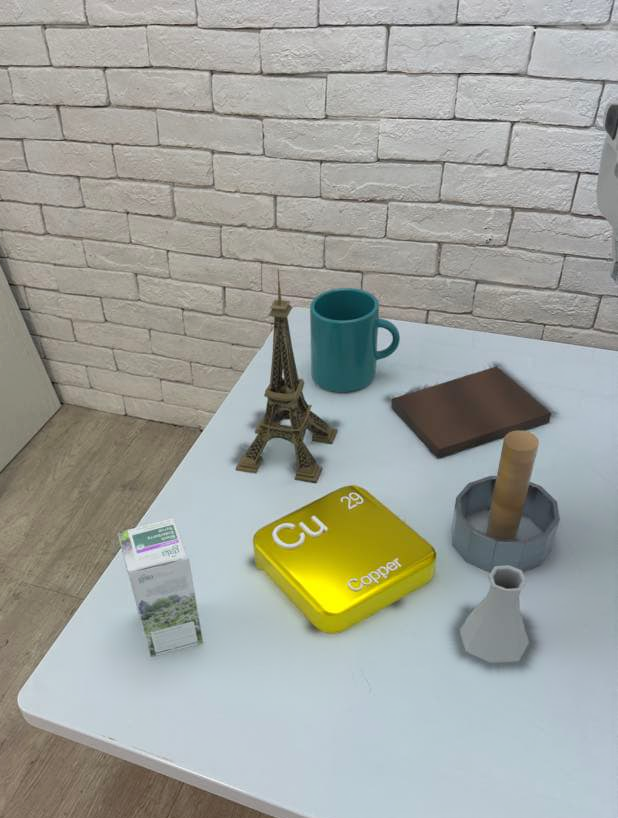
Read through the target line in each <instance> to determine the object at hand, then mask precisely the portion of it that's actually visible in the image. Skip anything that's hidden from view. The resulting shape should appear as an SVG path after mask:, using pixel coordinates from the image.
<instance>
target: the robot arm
mask: <svg viewBox="0 0 618 818" xmlns="http://www.w3.org/2000/svg"><path fill="white" fill-rule="evenodd" d="M602 129H603V130H604V132H605V133H606V135H605V137H604V140H603V144H602V149H601V155H600V161H599V168H598V173H597V174H598V175H597V180H596V204H597V209H598V210H599V212H600V213H601V215H602V216H603V217H604V218H605V220H606V222H608V224H609V226H610V227H611V228H612V233H611V248H612V249H611V251H612V262H611V267H610V271H609V276H610V278H611V279H612V280H613V282H614V283H615V284H616V285H618V99H613V100H610V101H608V102H607V103H606V105H605V108H604V113H603V118H602Z"/></svg>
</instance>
